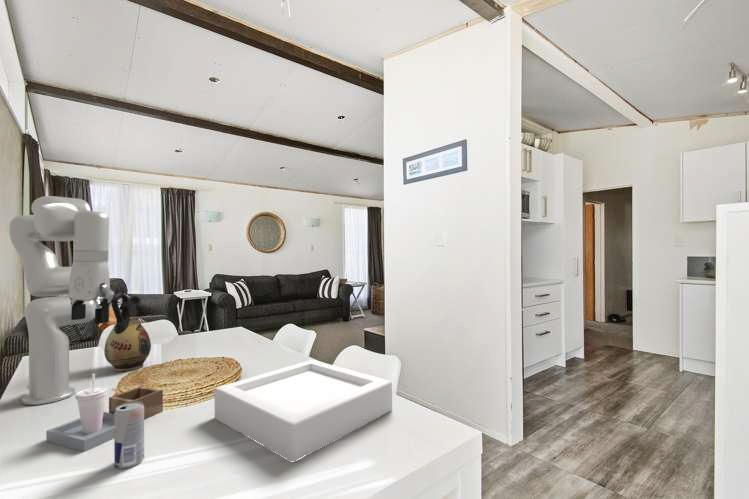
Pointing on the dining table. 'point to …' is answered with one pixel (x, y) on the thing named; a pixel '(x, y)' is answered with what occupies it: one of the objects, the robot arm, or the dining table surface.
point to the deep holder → (140, 400)
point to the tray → (302, 406)
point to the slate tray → (81, 434)
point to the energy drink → (128, 435)
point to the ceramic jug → (126, 337)
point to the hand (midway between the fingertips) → (90, 321)
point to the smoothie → (91, 407)
